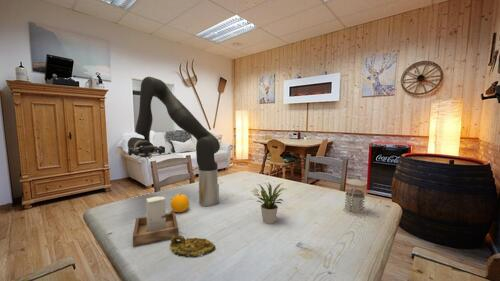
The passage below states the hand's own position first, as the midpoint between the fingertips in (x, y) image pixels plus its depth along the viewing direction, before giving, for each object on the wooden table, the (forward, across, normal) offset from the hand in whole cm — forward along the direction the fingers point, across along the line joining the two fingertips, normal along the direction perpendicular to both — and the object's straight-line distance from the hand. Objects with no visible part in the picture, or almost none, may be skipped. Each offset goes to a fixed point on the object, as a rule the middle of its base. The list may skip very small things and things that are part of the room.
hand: (149, 152), depth 85 cm
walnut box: (+12, 0, +28) cm, 31 cm away
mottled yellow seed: (+29, +7, +29) cm, 41 cm away
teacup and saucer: (+3, +53, +29) cm, 60 cm away
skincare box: (+12, 0, +28) cm, 30 cm away
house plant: (+29, +41, +28) cm, 58 cm away
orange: (-2, +12, +28) cm, 31 cm away
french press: (+43, +77, +28) cm, 93 cm away
